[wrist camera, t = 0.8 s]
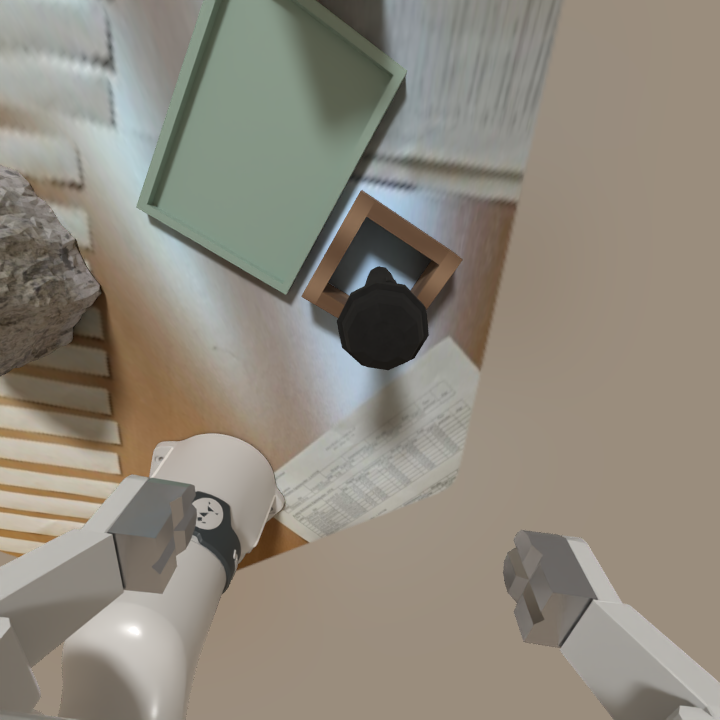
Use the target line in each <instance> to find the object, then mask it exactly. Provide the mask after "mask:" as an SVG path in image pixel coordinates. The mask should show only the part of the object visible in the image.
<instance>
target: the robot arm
mask: <svg viewBox="0 0 720 720" xmlns="http://www.w3.org/2000/svg"><path fill="white" fill-rule="evenodd" d="M162 457H163V458H162ZM284 503H285V499H284V497H283V495H282V494H281V492H280V491H279V490H278V488H277V487H276V484H275V478H274V473H273V470H272V468H271V466H270V464H269V462H268V461H267V459H266V458H265V457H264V456H263V455H262V454H261V453H260V452H259V451H258V450H257V449H256V448H254V447H253V446H251V445H250V444H248V443H246V442H244V441H242V440H240V439H238V438H235V437H232V436H228V435H223V434H201V435H197V436H193V437H191V438H188V439H186V440H183V441H167V442H160V443H158V444H157V446H156V448H155V449H154V452H153V458H152V464H151V470H150V476H149V477H143V476H137V475H130V476H128V477H126V478H125V479H124V480H123V481H122V482H121V483H120V484H119V485H118V487H117V488H116V489H115V490H114V491H113V492H112V494H111V495H110V496H109V497H108V498H107V499H106V500H105V502H104V503H103V504H102V505H101V506H100V507H99V509H98V510H97V511H96V512H95V513H94V514H93V516H92V517H91V518H90V519H89V520H88V521H87V523H86V524H85V525H84V526H83V527H82V528H81V529H72V530H70V531H69V532H67V533H65V534H63V535H61V536H59V537H57V538H55V539H53V540H51V541H49V542H47V543H45V544H44V545H42V546H40V547H38V548H36V549H34V550H32V551H30V552H28V553H26V554H24V555H22V556H21V557H19V558H17V559H15V560H13V561H11V562H9V563H7V564H5V565H3V566H2V567H0V720H186V715H187V709H188V703H189V697H190V693H191V688H192V683H193V680H194V675H195V671H196V668H197V664H198V661H199V657H200V655H201V652H202V649H203V646H204V643H205V640H206V637H207V634H208V631H209V629H210V626H211V623H212V620H213V617H214V614H215V612H216V609H217V606H218V603H219V600H220V598H221V595H222V594H223V593H224V592H225V591H226V590H227V588H228V587H229V584H230V582H231V580H232V579H233V576H234V574H235V572H236V569H237V566H238V564H239V563H240V562H241V561H242V559H243V558H244V556H245V554H246V553H250V552H251V551H252V549H253V547H256V545H257V543H258V541H259V539H260V536H261V533H262V531H263V528H264V526H265V523H266V522H267V521H269V520H270V519H271V518H272V517H273V516H274V515H276V514H277V513H278V512H279V511H280V510H281V509H282V508H283V506H284ZM514 543H515V545H516V548H514V549H512V550H511V551H509V552H508V553H507V556H506V558H505V560H504V571H503V574H504V581H505V585H506V588H507V592H508V594H509V595H510V596H511V597H512V598H513V599H514V600H515V601H516V602H517V605H516V608H515V610H514V614H515V617H516V620H517V623H518V626H519V629H520V632H521V635H522V638H523V641H524V642H527V643H533V644H539V645H545V646H551V647H558V648H561V649H560V651H561V652H562V654H563V655H564V656H565V658H566V659H567V660H568V661H569V663H570V664H571V665H572V667H573V668H574V669H575V670H576V672H577V673H578V674H579V676H580V677H581V678H582V679H583V681H584V682H585V683H586V684H587V686H588V687H589V688H590V689H591V691H592V692H593V694H594V695H595V696H596V697H597V699H598V700H599V701H600V703H601V704H602V705H603V706H604V708H605V709H606V710H607V711H608V713H609V714H610V715H611V717H612V718H613V719H614V720H720V683H719V682H718V681H717V680H716V679H715V678H713V677H712V676H711V675H710V674H709V673H708V672H707V671H705V670H704V669H703V668H702V667H701V666H699V664H697V663H696V662H695V661H694V660H692V658H690V657H689V656H688V655H687V654H686V653H685V652H683V651H682V650H681V649H680V648H679V647H678V646H676V645H675V644H674V643H673V642H672V641H671V640H670V639H668V638H667V637H666V636H665V635H664V634H663V633H661V632H660V631H659V630H658V629H657V628H656V627H654V626H653V625H652V624H651V623H650V622H649V621H647V620H646V619H645V618H644V617H643V616H642V615H641V614H639V613H638V612H637V611H636V610H635V609H634V608H632V607H631V606H630V605H629V604H623V603H622V602H621V600H620V598H619V597H618V595H617V593H616V592H615V590H614V588H613V587H612V585H611V583H610V581H609V580H608V578H607V576H606V575H605V573H604V571H603V569H602V568H601V566H600V564H599V563H598V561H597V559H596V558H595V556H594V554H593V553H592V551H591V549H590V548H589V546H588V544H587V543H586V542H585V541H584V540H583V539H582V538H578V537H570V536H563V535H561V536H560V535H556V534H549V533H541V532H532V531H525V530H520V531H519V532H518V533H517V534H516V536H515V538H514ZM64 641H65V643H64V646H63V652H62V675H63V676H62V678H63V689H62V698H61V704H60V710H59V714H58V717H53V716H46V715H44V714H43V713H41V712H39V711H37V710H34V709H33V708H34V707H35V705H36V704H37V702H38V701H39V699H40V697H41V695H40V688H39V685H38V683H37V681H36V679H35V676H34V674H33V672H32V670H31V668H32V667H33V666H34V665H35V664H37V663H38V662H39V661H40V660H42V659H43V658H44V657H45V656H46V655H48V654H49V653H50V652H51V651H52V650H54V649H55V648H56V647H58V646H59V645H60V644H61V643H62V642H64Z"/></svg>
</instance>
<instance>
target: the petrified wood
mask: <svg viewBox="0 0 720 720" xmlns="http://www.w3.org/2000/svg"><path fill="white" fill-rule="evenodd" d="M101 293H102V292H101V290H100V285H99V283H98V282H97V281H96V279H95V278H94V277H93V276H92V274H91V273H90V272H89V270H88V269H87V267H86V266H85V264H84V261H83V259H82V257H81V255H80V253H79V251H78V249H77V247H76V245H75V238H74V237H72V236H71V234H70V233H69V232H68V231H67V230H66V229H65V228H64V227H63V226H62V225H61V224H60V222H59V220H58V219H57V217H56V215H55V214H54V212H53V211H52V209H51V208H50V207H49V205H48V204H47V203H46V202H45V201H44V200H42V199H40V198H39V197H38V196H37V195H36V194H35V192H34V191H33V189H32V187H31V185H30V184H29V182H28V181H27V180H26V179H25V178H24V177H23V176H22V175H21V174H20V173H19V172H18V171H17V170H14V169H10V168H7V167H4V166H2V165H0V376H2V375H4V374H6V373H8V372H9V371H11V370H12V369H13V368H19V367H22V366H23V365H25V364H27V363H29V362H31V361H35V360H37V359H39V358H41V357H44V356H46V355H48V354H50V353H52V352H53V351H55V350H56V349H57V348H59V347H60V346H63V345H65V346H66V345H67V344H69V343H70V342H71V341H72V339H73V326H75V324H76V323H78V321H79V320H80V319H81V317H82V314H83V313H85V312H86V308H87V307H90V306H91V305H92V304H93V303H94V301H95V300H96V298H97V297H98V296H99V295H100V294H101Z"/></svg>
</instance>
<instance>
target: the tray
mask: <svg viewBox="0 0 720 720" xmlns="http://www.w3.org/2000/svg"><path fill="white" fill-rule="evenodd" d="M406 73H407V70H405V69H404V68H403V67H402V66H400V65H399V64H398V63H396V62H395V61H394V60H392V59H391V58H390V57H389V56H387V55H386V54H385V53H383V52H382V51H381V50H379V49H378V48H377V47H376V46H374V45H373V44H372V43H370V42H369V41H368V40H367V39H365V38H364V37H363V36H361V35H360V34H359V33H357V32H356V31H355V30H354V29H352V28H351V27H350V26H348V25H347V24H346V23H345V22H343V21H342V20H341V19H339V18H338V17H337V16H335V15H334V14H333V13H332V12H330V11H329V10H328V9H326V8H325V7H324V6H323V5H321V4H320V3H319V2H317V1H316V0H204V1H203V4H202V7H201V10H200V13H199V16H198V19H197V22H196V25H195V28H194V31H193V35H192V38H191V41H190V44H189V47H188V50H187V53H186V56H185V59H184V62H183V65H182V68H181V71H180V75H179V78H178V81H177V84H176V87H175V90H174V93H173V96H172V99H171V102H170V105H169V108H168V111H167V114H166V118H165V121H164V124H163V127H162V130H161V133H160V136H159V139H158V142H157V145H156V148H155V151H154V154H153V158H152V161H151V164H150V167H149V170H148V173H147V176H146V179H145V182H144V185H143V188H142V191H141V194H140V197H139V201H138V204H137V208H138V209H140V210H142V211H143V212H145V213H147V214H149V215H150V216H152V217H154V218H155V219H157V220H159V221H160V222H162V223H164V224H166V225H167V226H169V227H171V228H172V229H174V230H176V231H178V232H179V233H181V234H183V235H184V236H186V237H188V238H190V239H191V240H193V241H195V242H196V243H198V244H200V245H202V246H203V247H205V248H207V249H208V250H210V251H212V252H213V253H215V254H217V255H219V256H220V257H222V258H224V259H225V260H227V261H229V262H231V263H232V264H234V265H236V266H237V267H239V268H241V269H243V270H244V271H246V272H248V273H249V274H251V275H253V276H255V277H256V278H258V279H260V280H261V281H263V282H265V283H266V284H268V285H270V286H272V287H273V288H275V289H277V290H278V291H280V292H282V293H284V294H285V295H286V294H287V293H288V292H289V290H290V288H291V286H292V284H293V283H294V281H295V279H296V277H297V275H298V273H299V272H300V270H301V268H302V266H303V264H304V262H305V261H306V259H307V257H308V255H309V253H310V251H311V249H312V248H313V246H314V244H315V242H316V240H317V238H318V237H319V235H320V233H321V231H322V229H323V227H324V226H325V224H326V222H327V220H328V218H329V216H330V214H331V213H332V211H333V209H334V207H335V205H336V203H337V202H338V200H339V198H340V196H341V194H342V192H343V190H344V189H345V187H346V185H347V183H348V181H349V179H350V178H351V176H352V174H353V172H354V170H355V168H356V167H357V165H358V163H359V161H360V159H361V157H362V155H363V154H364V152H365V150H366V148H367V146H368V144H369V143H370V141H371V139H372V137H373V135H374V133H375V132H376V130H377V128H378V126H379V124H380V122H381V120H382V119H383V117H384V115H385V113H386V111H387V109H388V108H389V106H390V104H391V102H392V100H393V98H394V97H395V95H396V93H397V91H398V89H399V87H400V85H401V84H402V82H403V80H404V78H405V76H406Z"/></svg>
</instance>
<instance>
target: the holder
mask: <svg viewBox="0 0 720 720" xmlns="http://www.w3.org/2000/svg"><path fill="white" fill-rule="evenodd" d="M366 217H368V218H369V219H371V220H372V221H374V222H375V223H377V224H378V225H380V226H381V227H383V228H384V229H386V230H387V231H389V232H390V233H392V234H393V235H395V236H397V237H398V238H400V239H401V240H403V241H404V242H406V243H407V244H409V245H410V246H412V247H413V248H415V249H416V250H418V251H419V252H421V253H422V254H424V255H425V256H427V257H428V258H430V259H431V262H430V263H429V265H428V266H427V267H426V269H425V270H424V272H423V273H422V275H421V276H420V278H419V279H418V280H417V282H416V283H415V285H414V286H413V288H412V289H411V292H412V293H413V294H414V295H415V296H416V297H417V298H418V299H419V300H420V301H421V302H422V303H423V304H424V306H425V307H426V310H427V308H428V307H429V306H430V304H431V303H432V301H433V300H434V299H435V297H436V296H437V295H438V293H439V292H440V290H441V289H442V288H443V286H444V285H445V284H446V282H447V281H448V279H449V278H450V277H451V275H452V274H453V272H454V271H455V270H456V268H457V267H458V266H459V264H460V263H461V261H462V259H461V258H460V257H459V256H458V255H457V254H455V253H454V252H453V251H451V250H450V249H448V248H447V247H445V246H444V245H442V244H441V243H439V242H438V241H436V240H435V239H433V238H432V237H430V236H429V235H428V234H426V233H425V232H423V231H422V230H420V229H419V228H417V227H416V226H414V225H413V224H411V223H410V222H408V221H407V220H405V219H404V218H402V217H401V216H399V215H398V214H397V213H395V212H394V211H392V210H391V209H389V208H388V207H386V206H385V205H383V204H382V203H380V202H379V201H377V200H376V199H374V198H373V197H371V196H370V195H368V194H367V193H365V192H364V191H363V190H361V191H360V193H359V195H358V197H357V198H356V200H355V202H354V204H353V206H352V207H351V209H350V211H349V213H348V214H347V216H346V218H345V220H344V222H343V223H342V225H341V227H340V229H339V230H338V232H337V234H336V236H335V238H334V239H333V241H332V243H331V245H330V246H329V248H328V250H327V252H326V254H325V255H324V257H323V259H322V261H321V263H320V264H319V266H318V268H317V270H316V271H315V273H314V275H313V277H312V279H311V280H310V282H309V284H308V286H307V287H306V289H305V291H304V293H303V295H302V296H301V297H303V298H304V299H306V300H308V301H310V302H311V303H313V304H315V305H316V306H318V307H320V308H321V309H323V310H325V311H327V312H328V313H330V314H332V315H333V316H335V317H337V318H339V316H340V314H341V312H342V310H343V308H344V306H345V304H346V302H347V300H348V298H349V295H347V294H346V293H344V292H343V291H341V290H339V289H338V288H336V287H334V286H333V285H331V284H329V283H328V281H329V280H330V278H331V276H332V274H333V273H334V271H335V269H336V268H337V266H338V264H339V262H340V261H341V259H342V257H343V256H344V254H345V252H346V250H347V249H348V247H349V245H350V244H351V242H352V240H353V238H354V237H355V235H356V233H357V232H358V230H359V228H360V226H361V225H362V223H363V221H364V220H365V218H366Z"/></svg>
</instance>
